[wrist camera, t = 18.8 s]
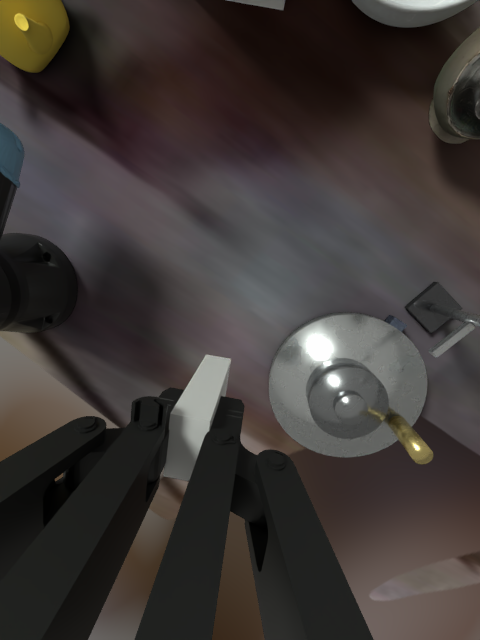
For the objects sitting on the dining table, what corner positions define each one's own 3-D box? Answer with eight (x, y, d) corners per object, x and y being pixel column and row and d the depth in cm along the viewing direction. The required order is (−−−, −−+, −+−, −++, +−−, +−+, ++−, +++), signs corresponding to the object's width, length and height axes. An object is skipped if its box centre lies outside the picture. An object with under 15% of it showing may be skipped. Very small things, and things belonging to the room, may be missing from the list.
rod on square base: (415, 353, 42) (498, 405, 26) (386, 322, 41) (453, 358, 26) (464, 314, 40) (583, 347, 25) (434, 281, 39) (536, 295, 24)
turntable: (356, 473, 46) (377, 523, 37) (241, 399, 45) (234, 433, 36) (458, 360, 40) (511, 388, 32) (330, 275, 40) (347, 279, 31)
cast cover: (347, 434, 42) (359, 459, 37) (292, 398, 42) (295, 418, 37) (392, 383, 40) (411, 402, 35) (333, 344, 40) (343, 357, 34)
